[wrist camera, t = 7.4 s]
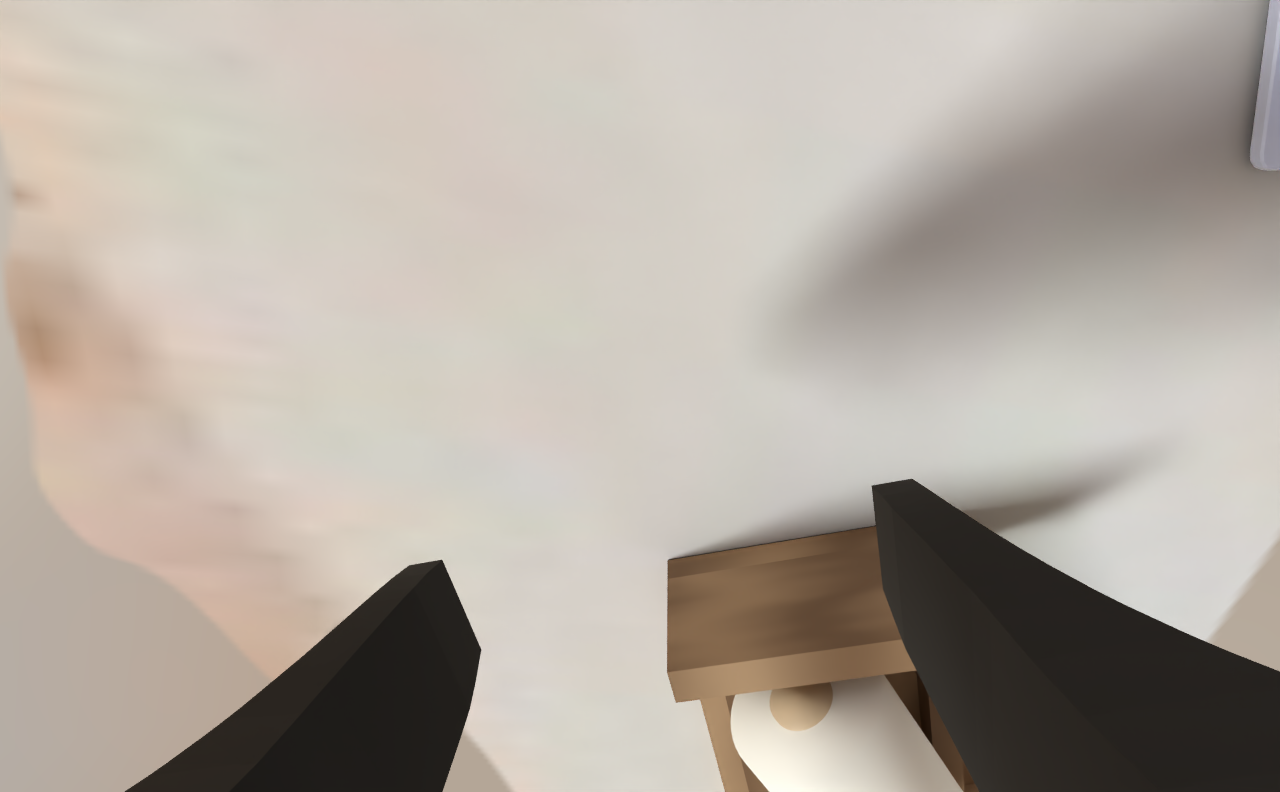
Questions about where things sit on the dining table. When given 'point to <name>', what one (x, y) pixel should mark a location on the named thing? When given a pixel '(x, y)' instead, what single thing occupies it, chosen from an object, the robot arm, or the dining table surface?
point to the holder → (788, 635)
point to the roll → (836, 740)
